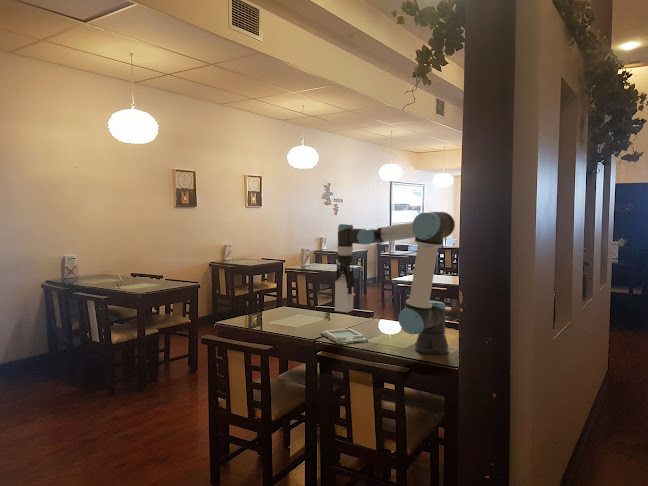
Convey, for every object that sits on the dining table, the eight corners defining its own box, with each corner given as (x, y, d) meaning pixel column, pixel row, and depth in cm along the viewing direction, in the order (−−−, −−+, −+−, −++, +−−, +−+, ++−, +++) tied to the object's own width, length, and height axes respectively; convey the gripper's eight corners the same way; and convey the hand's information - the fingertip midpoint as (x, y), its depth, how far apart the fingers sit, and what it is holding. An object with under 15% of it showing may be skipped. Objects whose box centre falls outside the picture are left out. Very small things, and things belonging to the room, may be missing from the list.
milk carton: (334, 311, 234) (335, 273, 233) (340, 308, 241) (341, 272, 239) (347, 312, 231) (348, 274, 230) (353, 310, 237) (354, 273, 236)
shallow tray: (367, 341, 230) (368, 336, 230) (338, 344, 223) (338, 340, 223) (347, 331, 250) (348, 326, 250) (320, 333, 244) (320, 329, 243)
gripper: (362, 256, 225) (361, 302, 227) (341, 252, 246) (341, 294, 247) (348, 256, 222) (347, 303, 224) (329, 253, 243) (328, 295, 244)
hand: (344, 298), depth 235 cm, fingers closed on milk carton, 10 cm apart
